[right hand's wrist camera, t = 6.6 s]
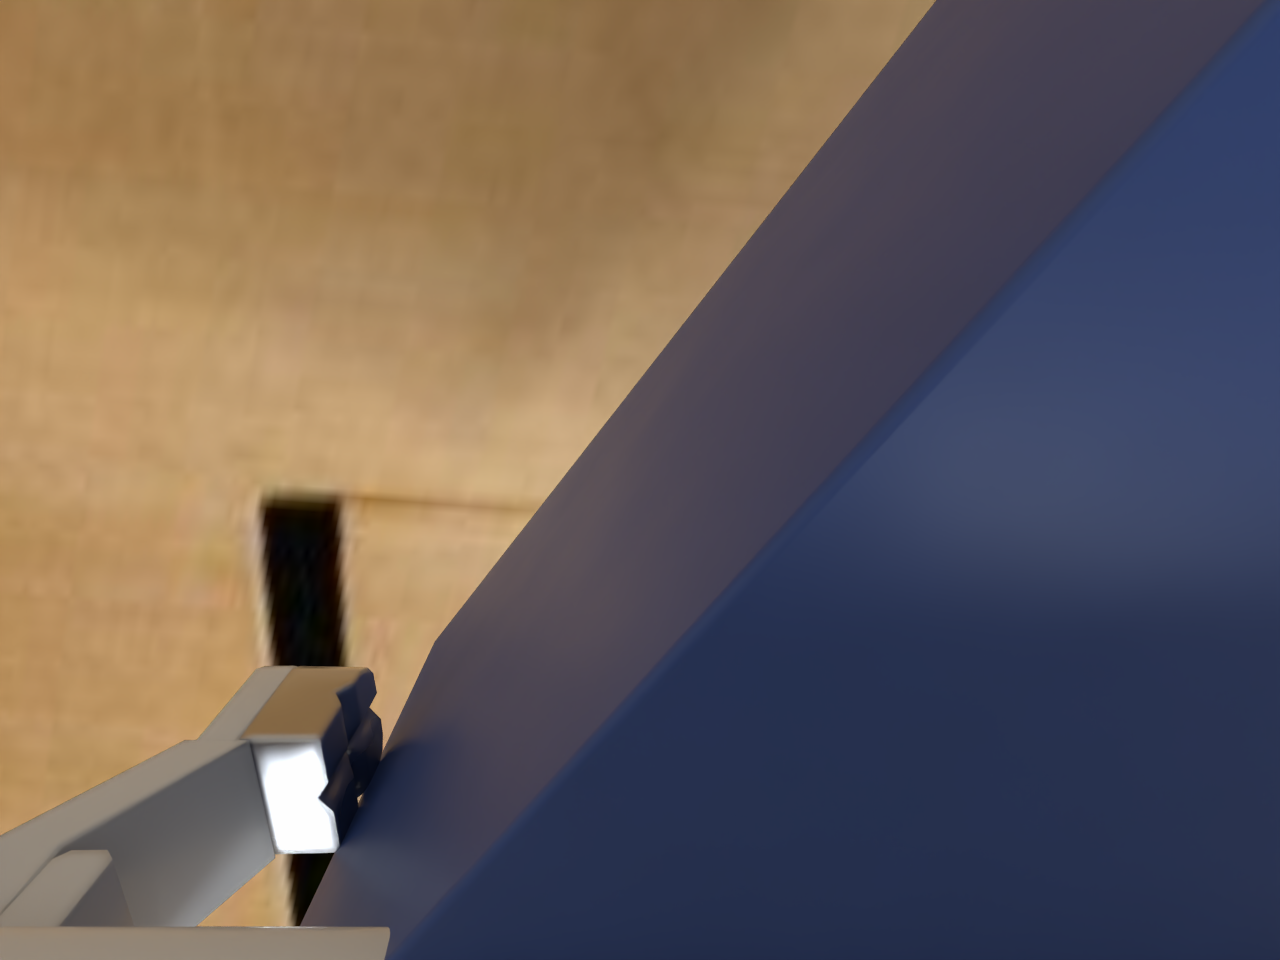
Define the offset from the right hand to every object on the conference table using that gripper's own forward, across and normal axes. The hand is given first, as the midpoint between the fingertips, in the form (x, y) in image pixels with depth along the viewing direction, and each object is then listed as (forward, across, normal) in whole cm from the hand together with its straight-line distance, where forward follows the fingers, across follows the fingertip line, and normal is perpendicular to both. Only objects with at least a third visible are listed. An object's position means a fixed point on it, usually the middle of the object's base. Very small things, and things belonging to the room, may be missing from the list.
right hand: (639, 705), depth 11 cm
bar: (+3, -6, -8) cm, 11 cm away
